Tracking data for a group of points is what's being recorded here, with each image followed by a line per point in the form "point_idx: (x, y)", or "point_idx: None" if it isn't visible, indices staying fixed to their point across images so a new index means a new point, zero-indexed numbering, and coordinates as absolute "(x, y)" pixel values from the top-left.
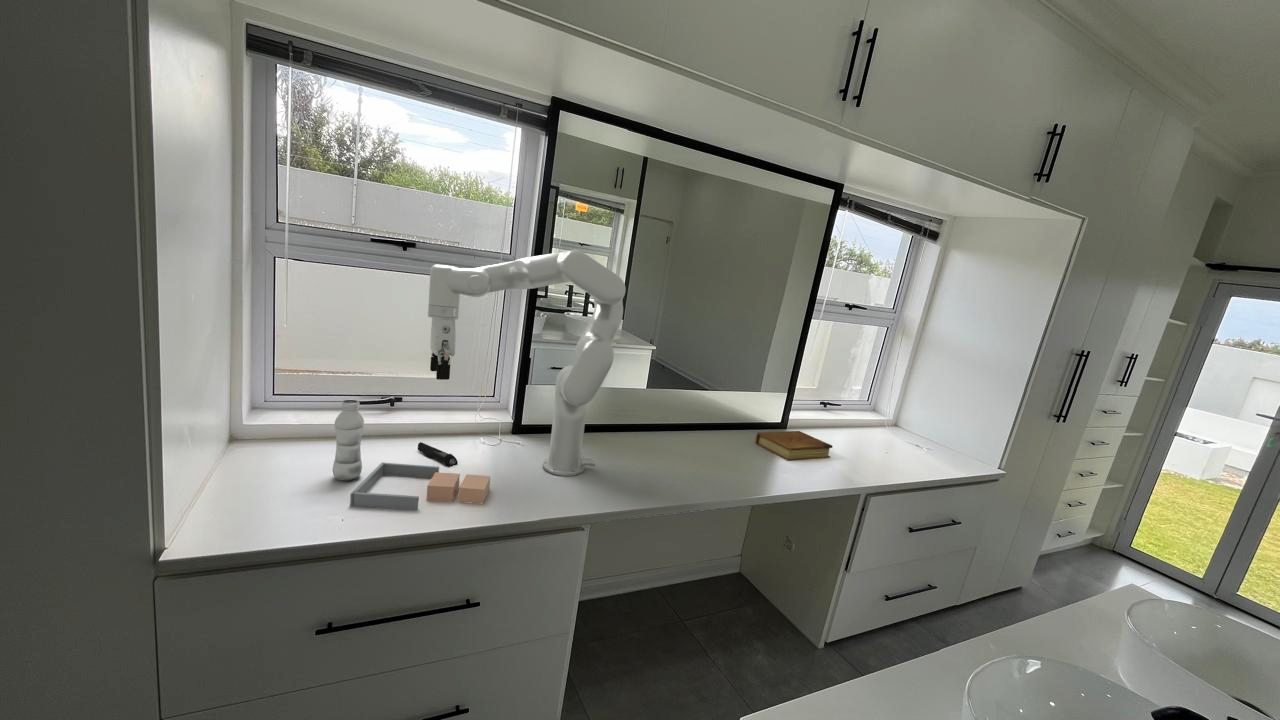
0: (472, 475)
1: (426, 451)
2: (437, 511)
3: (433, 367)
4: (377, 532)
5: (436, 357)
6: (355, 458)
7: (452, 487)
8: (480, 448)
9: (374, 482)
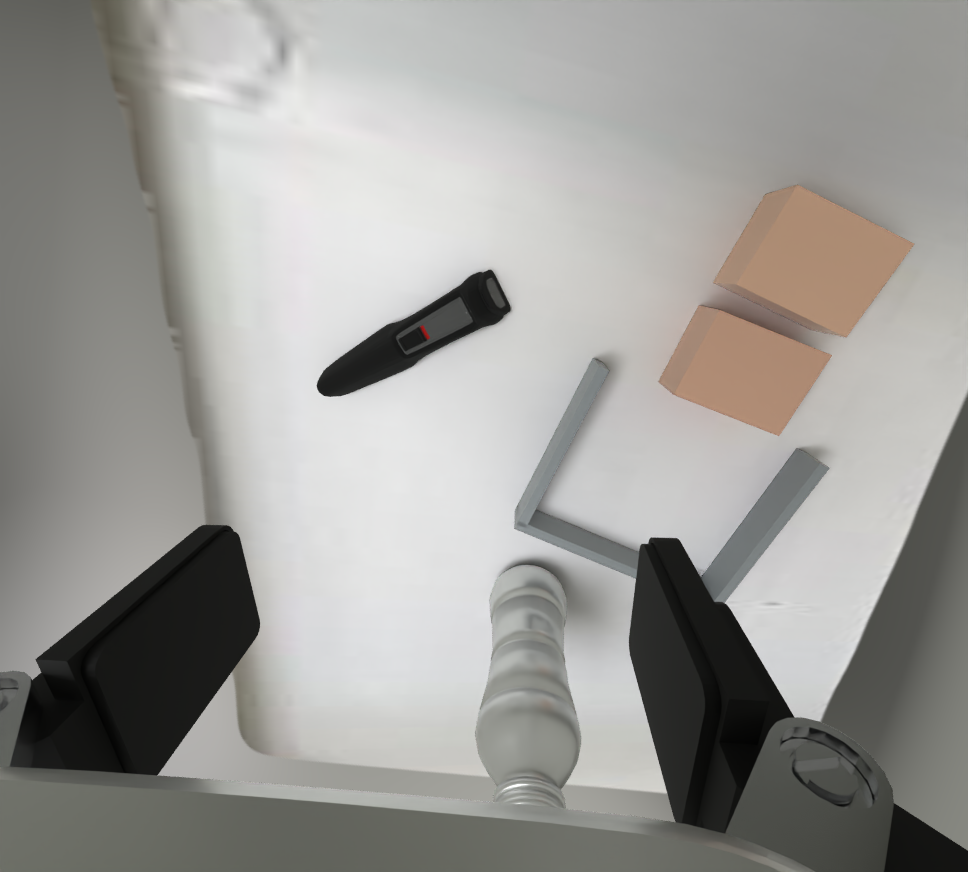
0: (758, 263)
1: (387, 373)
2: (844, 400)
3: (232, 641)
4: (879, 547)
5: (112, 744)
6: (558, 618)
7: (828, 358)
8: (322, 128)
9: (589, 534)
